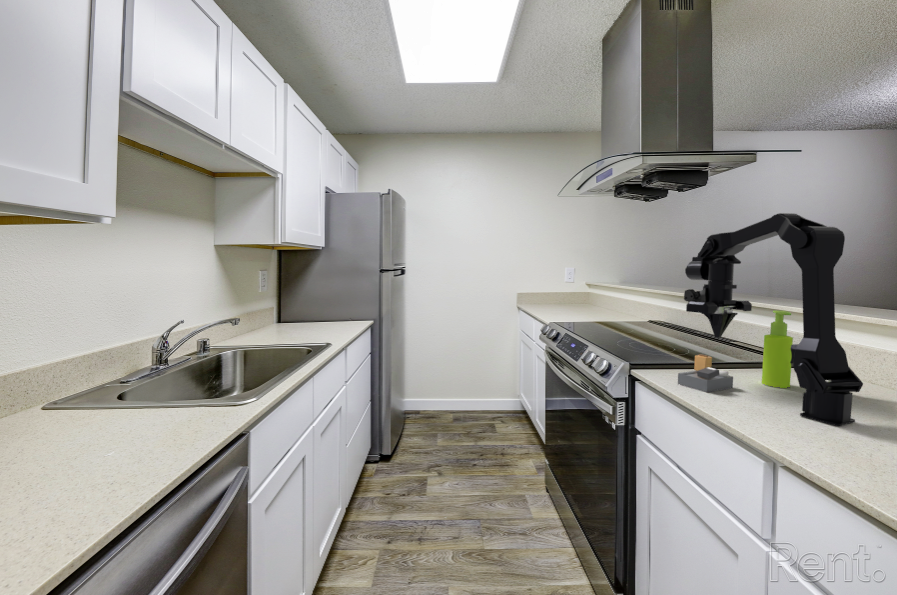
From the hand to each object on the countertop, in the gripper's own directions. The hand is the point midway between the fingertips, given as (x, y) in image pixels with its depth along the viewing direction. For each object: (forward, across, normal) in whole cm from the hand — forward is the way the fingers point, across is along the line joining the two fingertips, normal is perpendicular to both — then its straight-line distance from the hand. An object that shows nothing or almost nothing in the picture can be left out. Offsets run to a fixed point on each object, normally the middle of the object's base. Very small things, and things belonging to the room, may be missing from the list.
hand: (717, 337), depth 112 cm
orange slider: (+9, +5, 0) cm, 10 cm away
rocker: (+8, +10, +5) cm, 14 cm away
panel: (+12, +8, +2) cm, 15 cm away
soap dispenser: (+12, -10, +10) cm, 18 cm away
